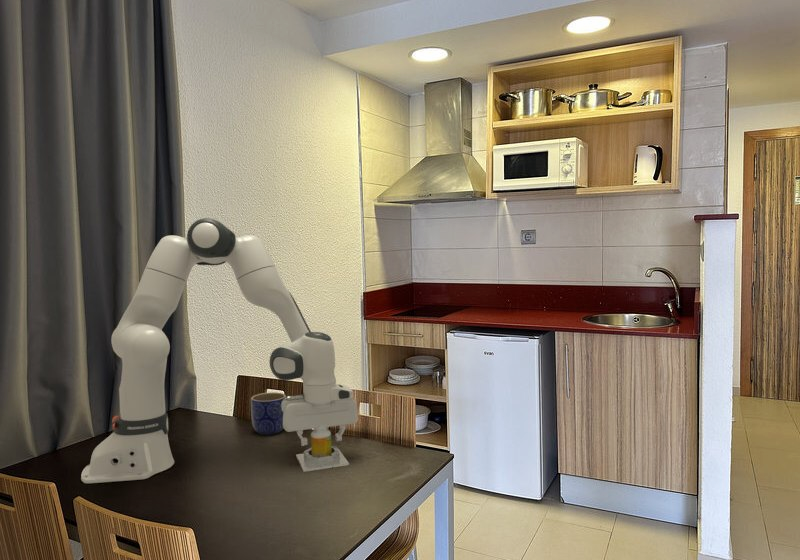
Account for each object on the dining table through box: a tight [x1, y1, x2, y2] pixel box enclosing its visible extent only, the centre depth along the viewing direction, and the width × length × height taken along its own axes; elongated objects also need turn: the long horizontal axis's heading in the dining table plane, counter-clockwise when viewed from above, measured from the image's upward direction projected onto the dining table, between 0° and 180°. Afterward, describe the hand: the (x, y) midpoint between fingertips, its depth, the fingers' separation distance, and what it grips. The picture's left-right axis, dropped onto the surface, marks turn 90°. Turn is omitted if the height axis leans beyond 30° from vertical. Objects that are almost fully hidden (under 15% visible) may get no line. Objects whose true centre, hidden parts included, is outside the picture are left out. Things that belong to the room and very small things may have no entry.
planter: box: [250, 392, 287, 436], centre depth 190 cm, size 11×11×11 cm
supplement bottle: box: [310, 425, 332, 456], centre depth 164 cm, size 5×5×10 cm
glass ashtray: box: [295, 445, 350, 473], centre depth 164 cm, size 12×12×3 cm
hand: (321, 442), depth 163 cm, fingers open, 8 cm apart
